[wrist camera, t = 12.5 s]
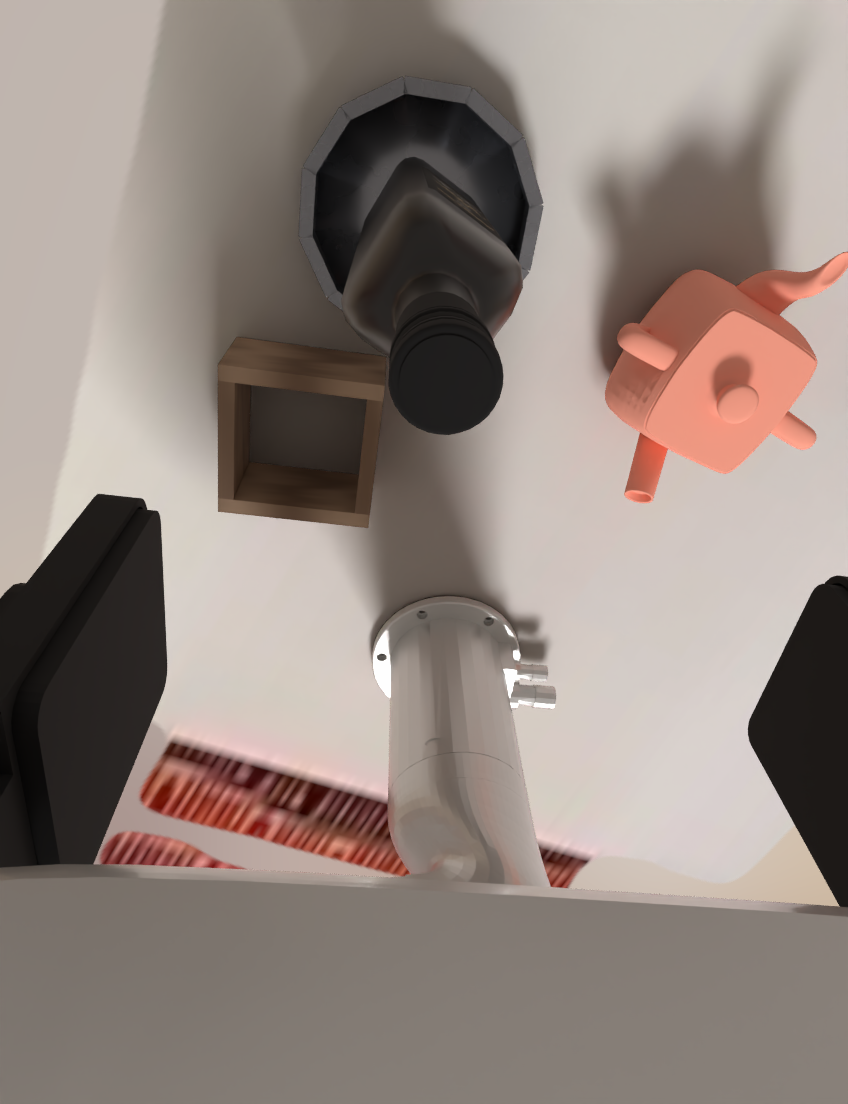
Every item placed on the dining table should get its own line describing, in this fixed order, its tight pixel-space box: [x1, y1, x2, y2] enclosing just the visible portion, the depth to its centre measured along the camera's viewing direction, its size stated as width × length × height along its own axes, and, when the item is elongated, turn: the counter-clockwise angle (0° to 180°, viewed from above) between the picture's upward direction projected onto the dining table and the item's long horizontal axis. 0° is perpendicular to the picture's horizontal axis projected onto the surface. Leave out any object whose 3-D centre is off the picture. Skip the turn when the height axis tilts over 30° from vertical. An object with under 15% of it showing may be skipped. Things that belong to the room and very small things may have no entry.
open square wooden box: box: [218, 337, 386, 528], centre depth 50 cm, size 10×10×6 cm
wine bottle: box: [341, 157, 523, 435], centre depth 32 cm, size 6×6×30 cm
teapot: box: [605, 252, 848, 503], centre depth 46 cm, size 14×12×10 cm
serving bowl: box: [299, 76, 543, 311], centre depth 45 cm, size 14×14×3 cm
